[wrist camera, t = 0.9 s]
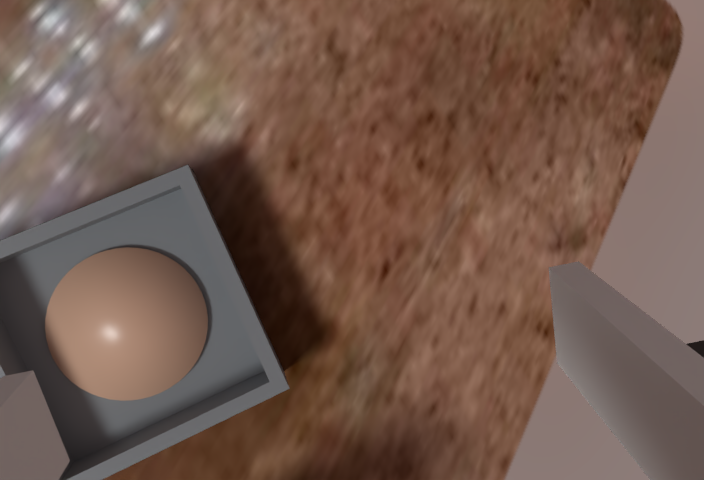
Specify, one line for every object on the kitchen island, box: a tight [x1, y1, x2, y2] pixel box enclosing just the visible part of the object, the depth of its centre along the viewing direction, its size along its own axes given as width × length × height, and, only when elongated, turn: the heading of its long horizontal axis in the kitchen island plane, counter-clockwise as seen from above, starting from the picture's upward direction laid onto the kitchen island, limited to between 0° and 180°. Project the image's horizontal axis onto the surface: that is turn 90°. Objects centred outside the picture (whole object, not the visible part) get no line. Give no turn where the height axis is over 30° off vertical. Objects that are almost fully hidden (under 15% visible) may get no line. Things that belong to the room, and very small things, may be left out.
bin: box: [0, 165, 289, 480], centre depth 31 cm, size 13×13×4 cm
